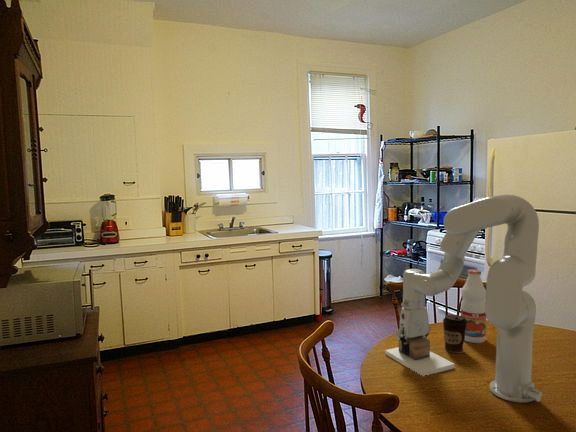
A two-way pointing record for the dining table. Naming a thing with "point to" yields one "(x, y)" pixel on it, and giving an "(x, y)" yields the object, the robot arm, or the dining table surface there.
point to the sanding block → (417, 347)
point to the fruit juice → (474, 307)
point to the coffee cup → (454, 333)
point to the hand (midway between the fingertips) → (413, 351)
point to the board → (421, 362)
